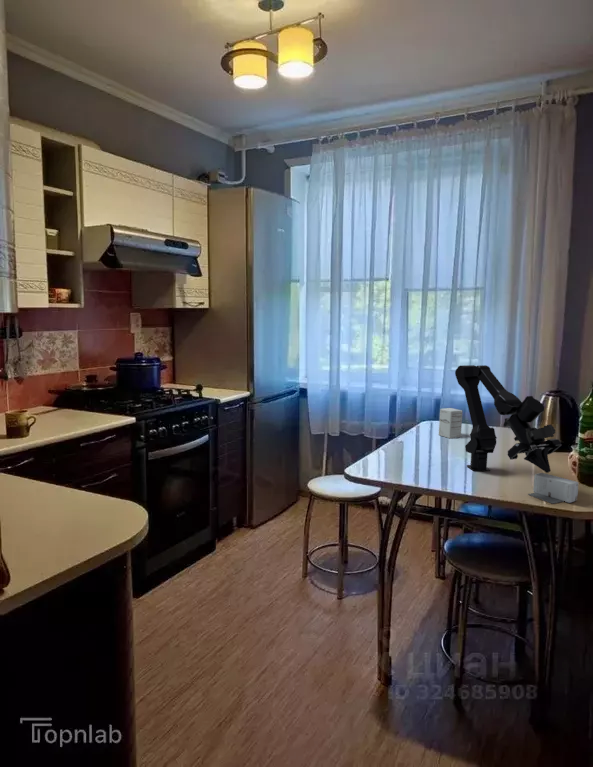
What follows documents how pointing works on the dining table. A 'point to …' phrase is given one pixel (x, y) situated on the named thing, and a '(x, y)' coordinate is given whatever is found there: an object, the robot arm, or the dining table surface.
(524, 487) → the dining table surface
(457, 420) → the supplement box
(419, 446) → the dining table surface
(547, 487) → the skincare box
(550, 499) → the pad
